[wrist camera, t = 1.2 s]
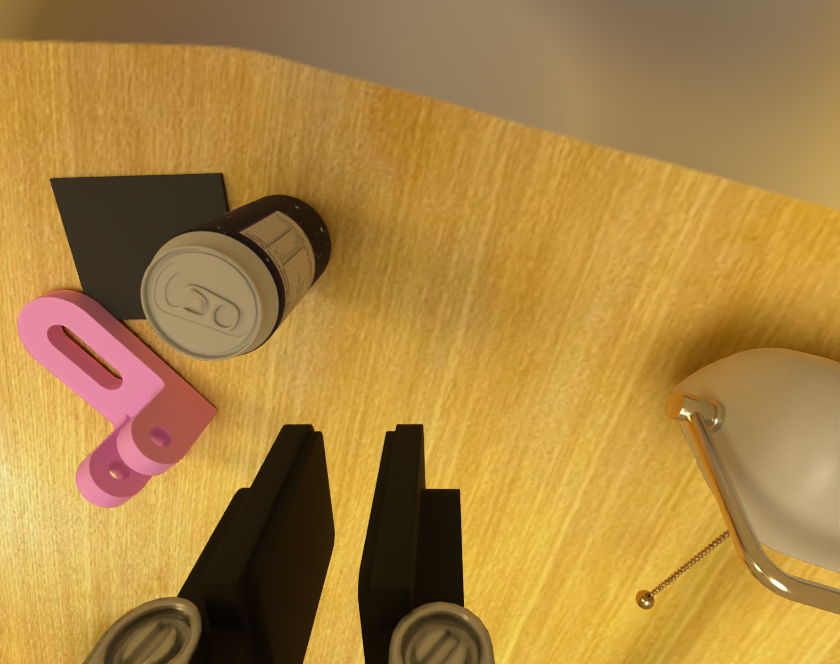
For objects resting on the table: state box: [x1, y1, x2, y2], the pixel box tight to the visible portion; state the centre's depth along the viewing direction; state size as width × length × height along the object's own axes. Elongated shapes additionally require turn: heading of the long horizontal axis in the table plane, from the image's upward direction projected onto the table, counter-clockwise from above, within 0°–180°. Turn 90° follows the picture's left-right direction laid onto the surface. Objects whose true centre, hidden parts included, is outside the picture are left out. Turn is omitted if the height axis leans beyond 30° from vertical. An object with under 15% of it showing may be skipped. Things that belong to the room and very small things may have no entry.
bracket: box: [17, 290, 218, 508], centre depth 32 cm, size 13×6×7 cm, turn 39°
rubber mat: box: [50, 173, 229, 320], centre depth 32 cm, size 9×10×1 cm
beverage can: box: [141, 195, 331, 361], centre depth 26 cm, size 6×6×12 cm
